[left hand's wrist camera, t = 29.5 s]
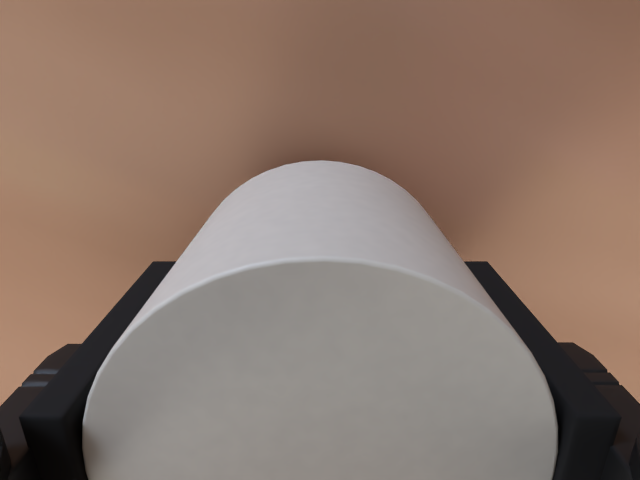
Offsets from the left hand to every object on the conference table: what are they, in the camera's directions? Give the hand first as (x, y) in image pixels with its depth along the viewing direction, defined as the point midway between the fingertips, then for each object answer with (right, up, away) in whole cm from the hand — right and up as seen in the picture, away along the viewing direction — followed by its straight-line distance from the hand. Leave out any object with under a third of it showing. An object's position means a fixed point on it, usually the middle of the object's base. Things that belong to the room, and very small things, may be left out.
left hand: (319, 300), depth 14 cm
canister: (0, 0, +1) cm, 1 cm away
